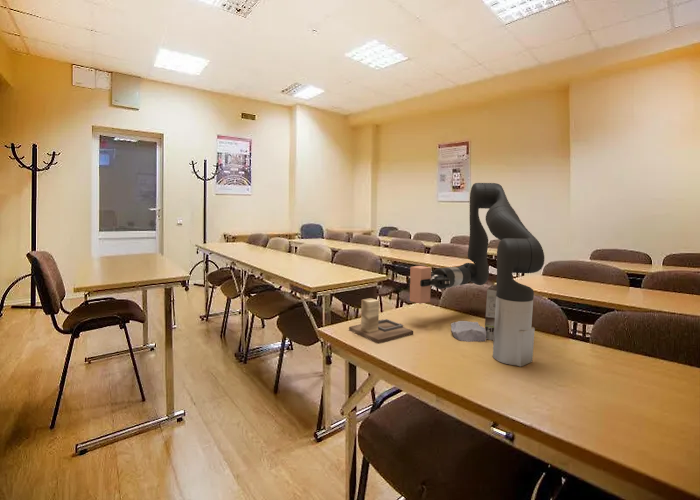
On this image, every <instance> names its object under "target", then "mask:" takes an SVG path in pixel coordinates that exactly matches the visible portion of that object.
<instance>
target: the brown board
mask: <svg viewBox="0 0 700 500" xmlns="http://www.w3.org/2000/svg"><path fill="white" fill-rule="evenodd" d="M380 320H384V319H379V320H378V321H380ZM378 326H379V327H382V328H384V329H386V328H390V327H394V326H396V325H393V324H390V323H388V322H384V323H380V324H378ZM348 331H350V332H352V333H354V334H356V335H359V336H360V337H363V338H365V339H367V340H369V341H372V342H374V343H376V344H377V345H378V344H382V343H385V342H389V341H394V340H398V339H401V338H405V337H408V336H413V335H414V330H413V329H410V328H407V327H405V326H403V328H399V329H395V330H390V331H386V332H384V331H381V330H379V329H378V331H375V332H371V333H368V332H365V331H363V330H361V323H360V324H356V325H351V326H348Z"/></svg>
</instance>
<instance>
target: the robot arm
mask: <svg viewBox="0 0 700 500" xmlns="http://www.w3.org/2000/svg"><path fill="white" fill-rule="evenodd" d="M480 209H487V211H486V214H485V223H486V225H487V228H488V229H489V231H490V232H489V233H491V234H492V236H494V237H495V238H496V239H498V240H499V242H498V244H497V248H496V282H495V284H496V285H495V286H497V292H496V307H495V324H494V340H492V341H493V342H492V343H493V347H492V357H493V359H495V361H496V362H497V361H498V362H499V363H502V364H506V365H510V366H518V367H524V366H526V365H528V364H531V363H532V362H533V359H534V358H533V356H534V344H535V343H534V342H535V330H536V329H535V327H534V326H532V321H533V309H534V307H533V306H534V294H535V293H534V289H533V288H532V287H530V286H528V285H525V284H522V283H520V282H518V281H516V280H515V279H514V278H513V277H514V276H513V274H535V273H538V272H540V271H541V270H542V268H543V267H544V264H545V252H544V249H543V246H542V245H541V242H540V241H539V239H537V238H536V236H534V234H532V232H531V231H530V230H528V228H527V227H526V226H525V225H524V223H523V221H522V220H521V219H520V217H519V215H518V213H517V212H516V210H515V209H514V208H513V207H512V204H511V203H510V202H509V199H508V198H507V195H506V193H505V190H504V188H503V187H502V185H501V184H499V183H495V182H475V183H473V184H472V186H471V188H470V193H469V238H468V239H469V241H468V248H467V259H469V261H471V262H465V263H463V264H461V265H459V266H447V267H439V268H436V269H434V270H433V272H431V278H430V279H425V280H421V281H420V286H422V287H424V286H431V287H435V288H437V289H439V290H443V289H450V288H455V287H458V286H463V285H466V284H469V282H471V283H473V284H475V285H476V286H484V285H485V284H486V283H487V282H488V280H489V276H490V269H489V263H488V262H489V261H488V257H487V256H488V250H489V236H488V234H487V232H486V230H485V228H484V226H483V224H482V222H481V220H480V214H479V213H480V212H479V210H480ZM408 284H409V285H410V277H408Z"/></svg>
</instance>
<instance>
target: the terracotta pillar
mask: <svg viewBox="0 0 700 500" xmlns="http://www.w3.org/2000/svg"><path fill="white" fill-rule="evenodd" d="M409 273H410V275H409V278H410V284H409V302H412V303H417V304H425V303H426V304H427V303H430V302H431V290H432V288H431V287H432V286H424V287H422V286H420V281H421V280H425V279H430V278H431V273H432V267H431V266H424V265H415V266H410V272H409Z"/></svg>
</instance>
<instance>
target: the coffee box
mask: <svg viewBox="0 0 700 500" xmlns="http://www.w3.org/2000/svg"><path fill="white" fill-rule="evenodd" d="M496 292H497V286H496V285H494V284H491V286H489V287H488V288H487V291H486V303H485V317H484V318H485V319H484V328H485V330H486V340H490V341H494V324H495V307H496Z"/></svg>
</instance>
